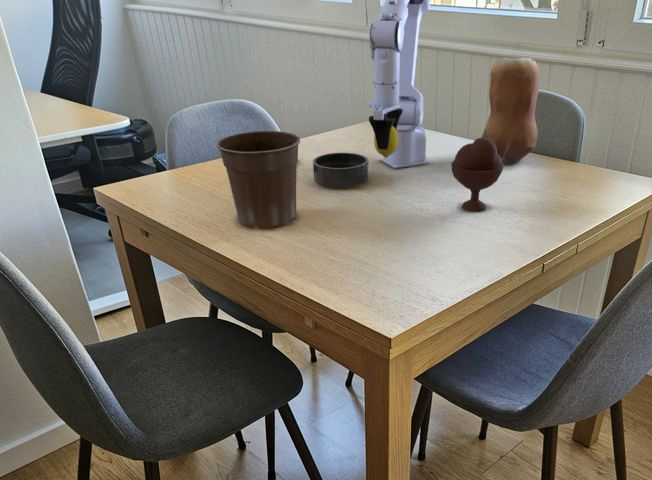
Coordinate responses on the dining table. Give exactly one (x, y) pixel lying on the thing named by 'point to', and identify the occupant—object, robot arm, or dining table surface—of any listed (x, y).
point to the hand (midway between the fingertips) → (386, 145)
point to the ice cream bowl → (477, 170)
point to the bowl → (341, 170)
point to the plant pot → (262, 176)
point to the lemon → (392, 144)
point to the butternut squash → (513, 107)
